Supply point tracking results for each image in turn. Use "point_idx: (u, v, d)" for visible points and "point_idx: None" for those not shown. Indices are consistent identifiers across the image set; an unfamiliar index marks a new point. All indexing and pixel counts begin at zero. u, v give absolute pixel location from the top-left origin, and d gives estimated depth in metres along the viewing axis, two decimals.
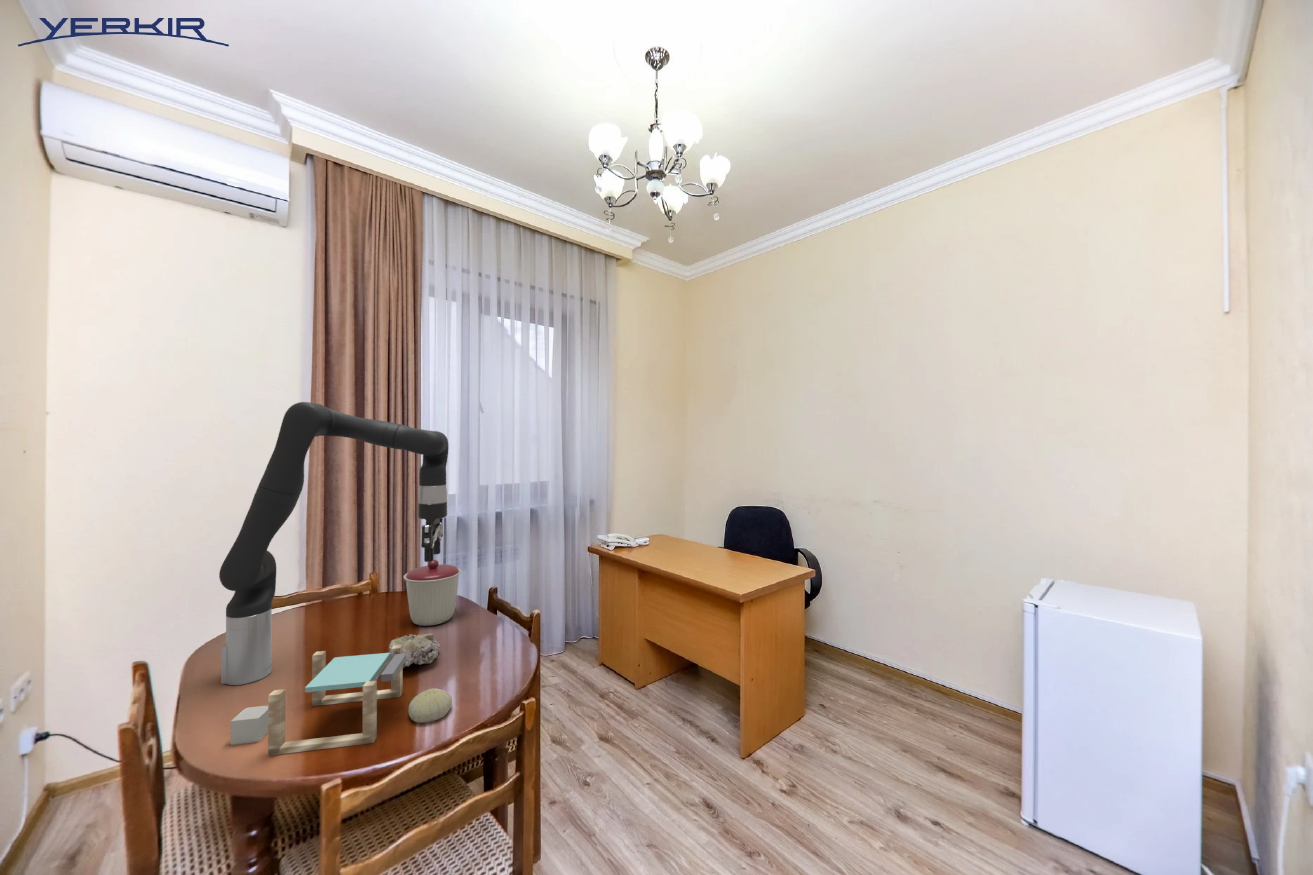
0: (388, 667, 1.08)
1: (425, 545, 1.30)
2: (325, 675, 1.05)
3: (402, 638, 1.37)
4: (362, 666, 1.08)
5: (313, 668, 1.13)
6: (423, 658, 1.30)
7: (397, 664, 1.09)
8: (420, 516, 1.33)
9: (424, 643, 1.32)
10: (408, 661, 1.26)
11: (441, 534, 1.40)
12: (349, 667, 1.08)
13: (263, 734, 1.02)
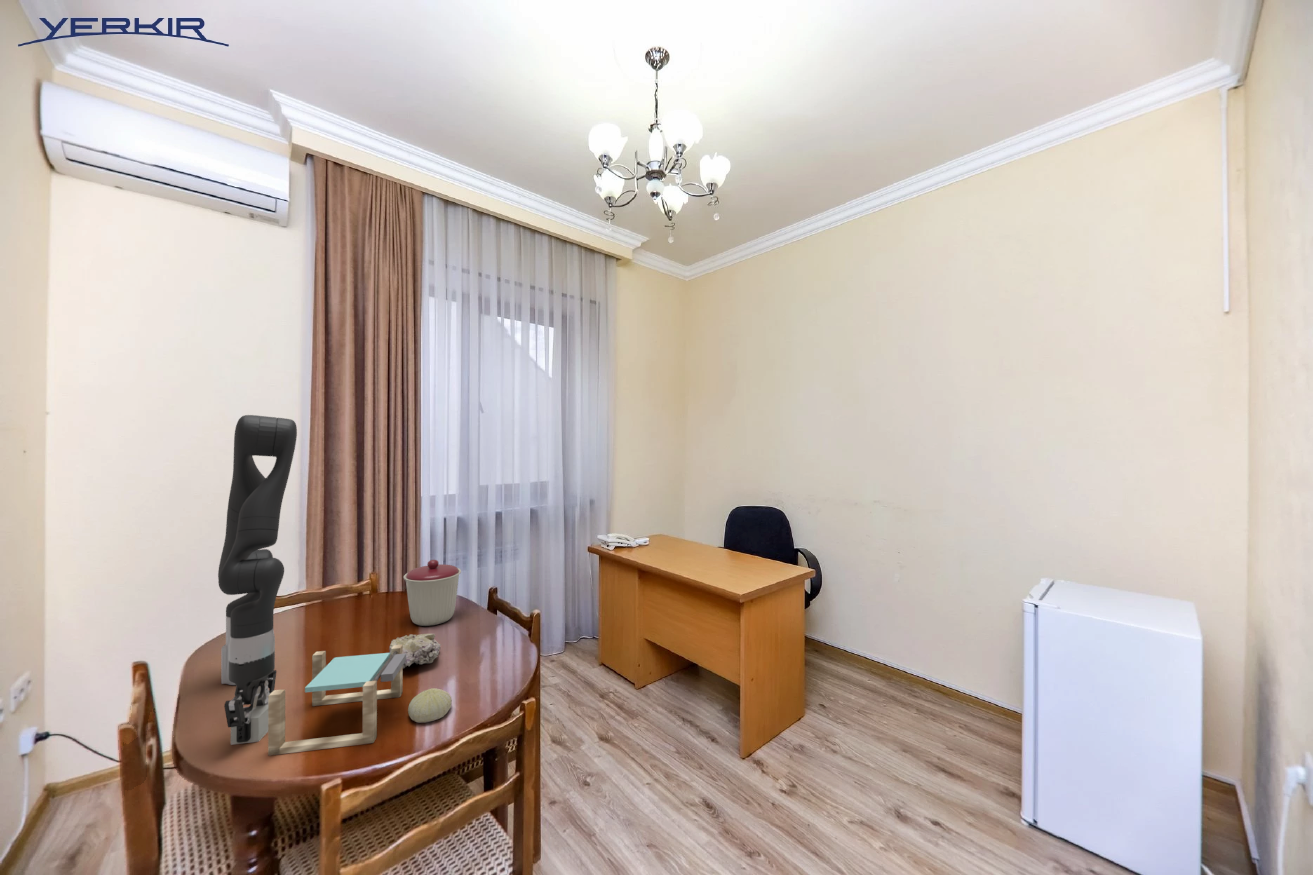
0: (388, 667, 1.08)
1: (233, 724, 0.96)
2: (325, 675, 1.05)
3: (402, 638, 1.37)
4: (362, 666, 1.08)
5: (313, 668, 1.13)
6: (424, 658, 1.30)
7: (397, 664, 1.09)
8: (229, 679, 0.99)
9: (425, 643, 1.32)
10: (409, 661, 1.27)
11: (267, 696, 1.04)
12: (349, 667, 1.08)
13: (263, 733, 1.02)
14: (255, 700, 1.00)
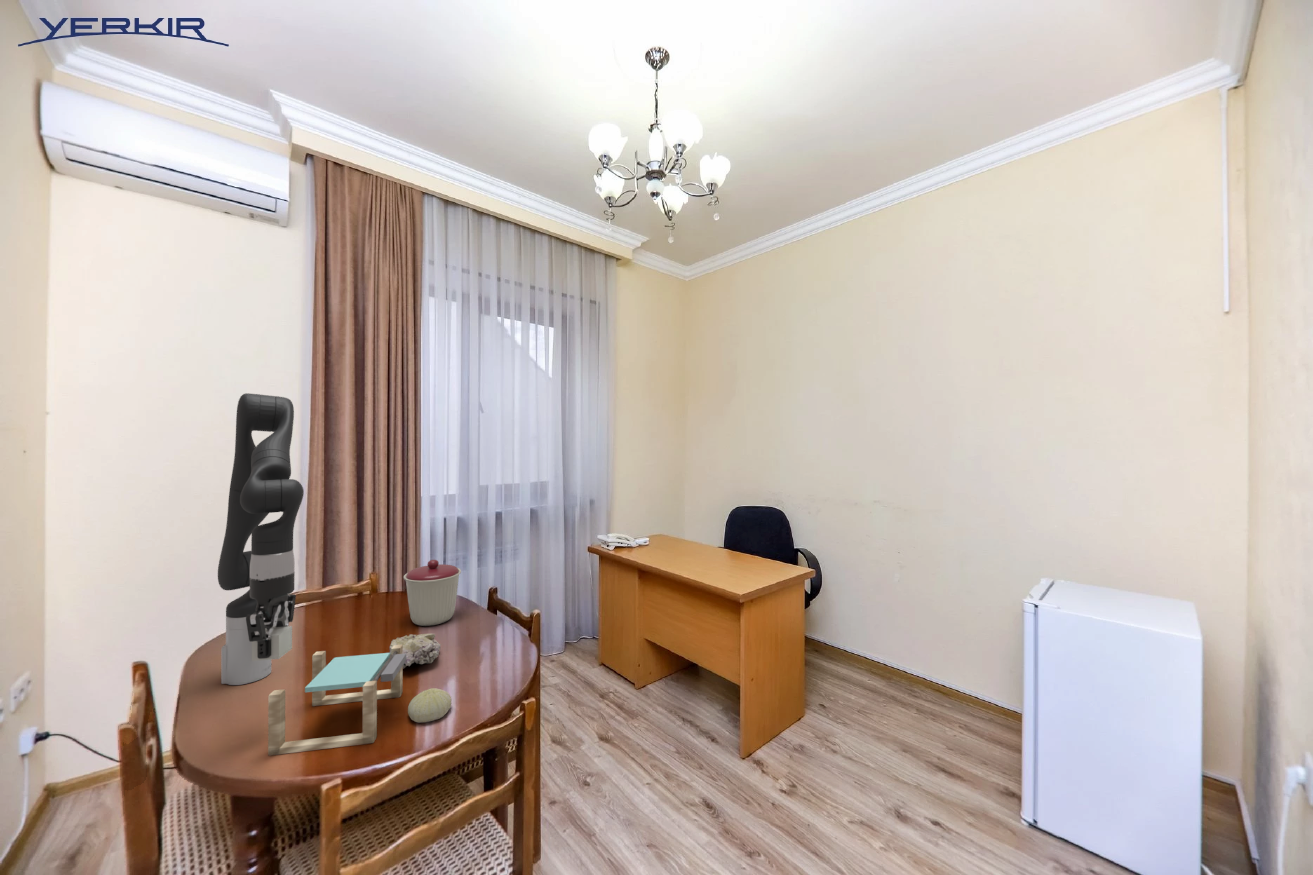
0: (388, 667, 1.08)
1: (254, 639, 0.97)
2: (325, 675, 1.05)
3: (402, 638, 1.37)
4: (362, 666, 1.08)
5: (313, 668, 1.13)
6: (424, 658, 1.30)
7: (397, 664, 1.09)
8: (250, 595, 1.00)
9: (425, 643, 1.32)
10: (409, 661, 1.27)
11: (286, 617, 1.05)
12: (349, 667, 1.08)
13: (283, 652, 1.02)
14: (275, 618, 1.01)
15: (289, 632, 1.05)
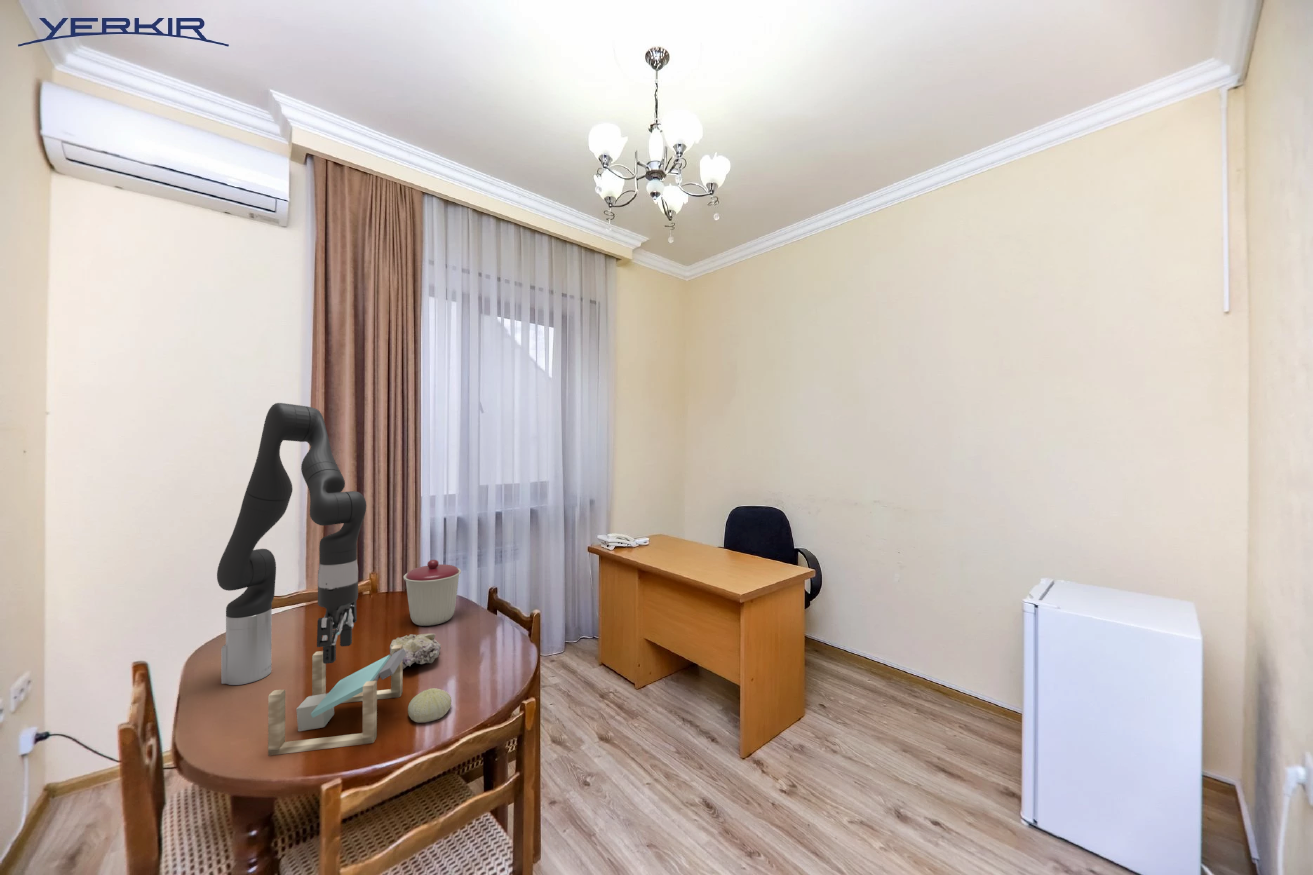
0: (386, 665, 1.08)
1: (322, 644, 1.00)
2: (329, 696, 1.05)
3: (403, 638, 1.37)
4: (364, 675, 1.08)
5: (313, 668, 1.13)
6: (425, 658, 1.30)
7: (394, 659, 1.09)
8: (319, 603, 1.04)
9: (425, 643, 1.32)
10: (410, 661, 1.27)
11: (352, 621, 1.10)
12: (351, 681, 1.08)
13: None
14: (342, 625, 1.05)
15: (311, 697, 1.07)
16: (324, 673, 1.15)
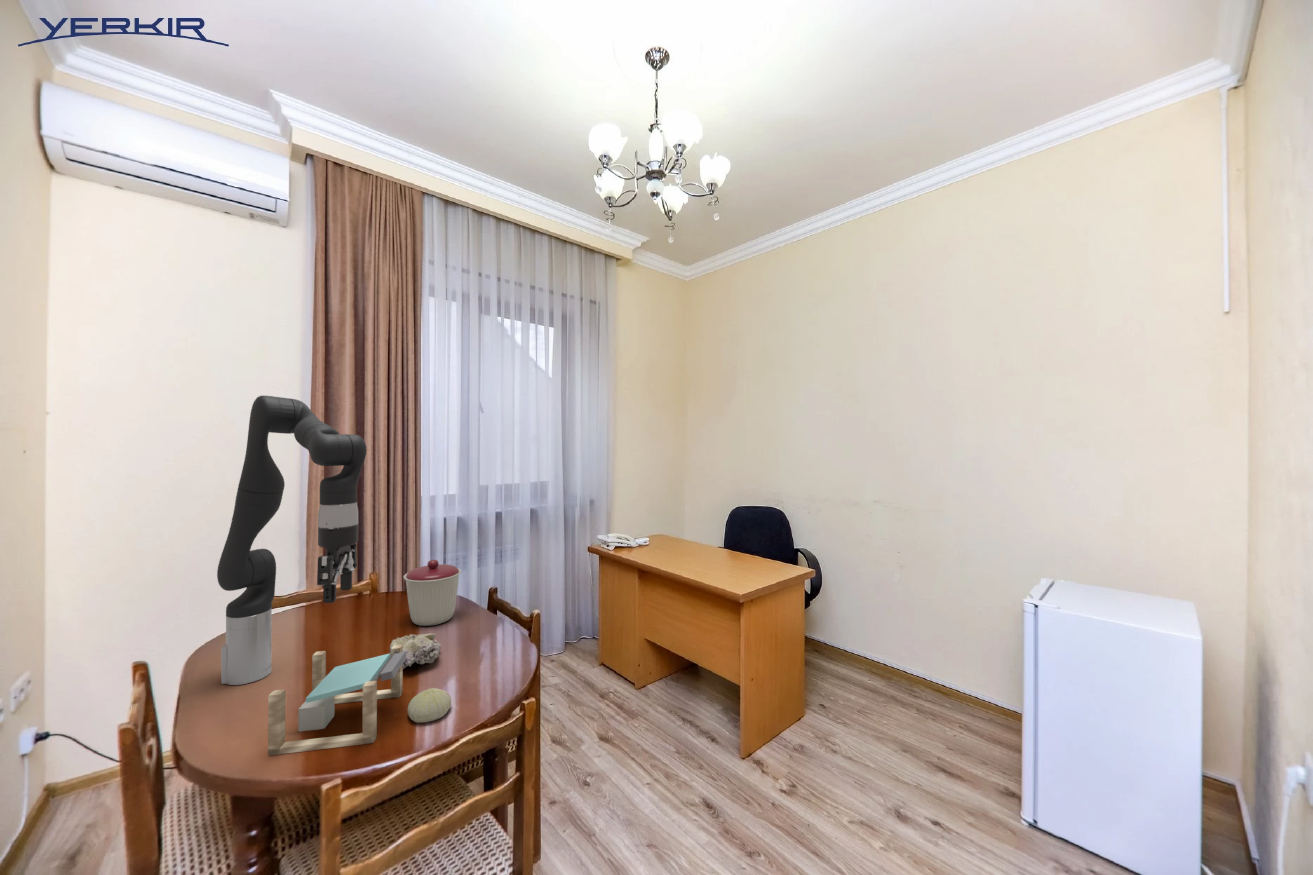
0: (387, 666, 1.08)
1: (322, 582, 1.00)
2: (325, 684, 1.05)
3: (403, 638, 1.37)
4: (362, 670, 1.08)
5: (313, 668, 1.13)
6: (425, 658, 1.30)
7: (396, 662, 1.09)
8: (319, 544, 1.04)
9: (426, 643, 1.32)
10: (410, 661, 1.27)
11: (352, 565, 1.10)
12: (349, 673, 1.08)
13: (325, 702, 1.06)
14: (343, 566, 1.05)
15: None
16: (324, 673, 1.15)
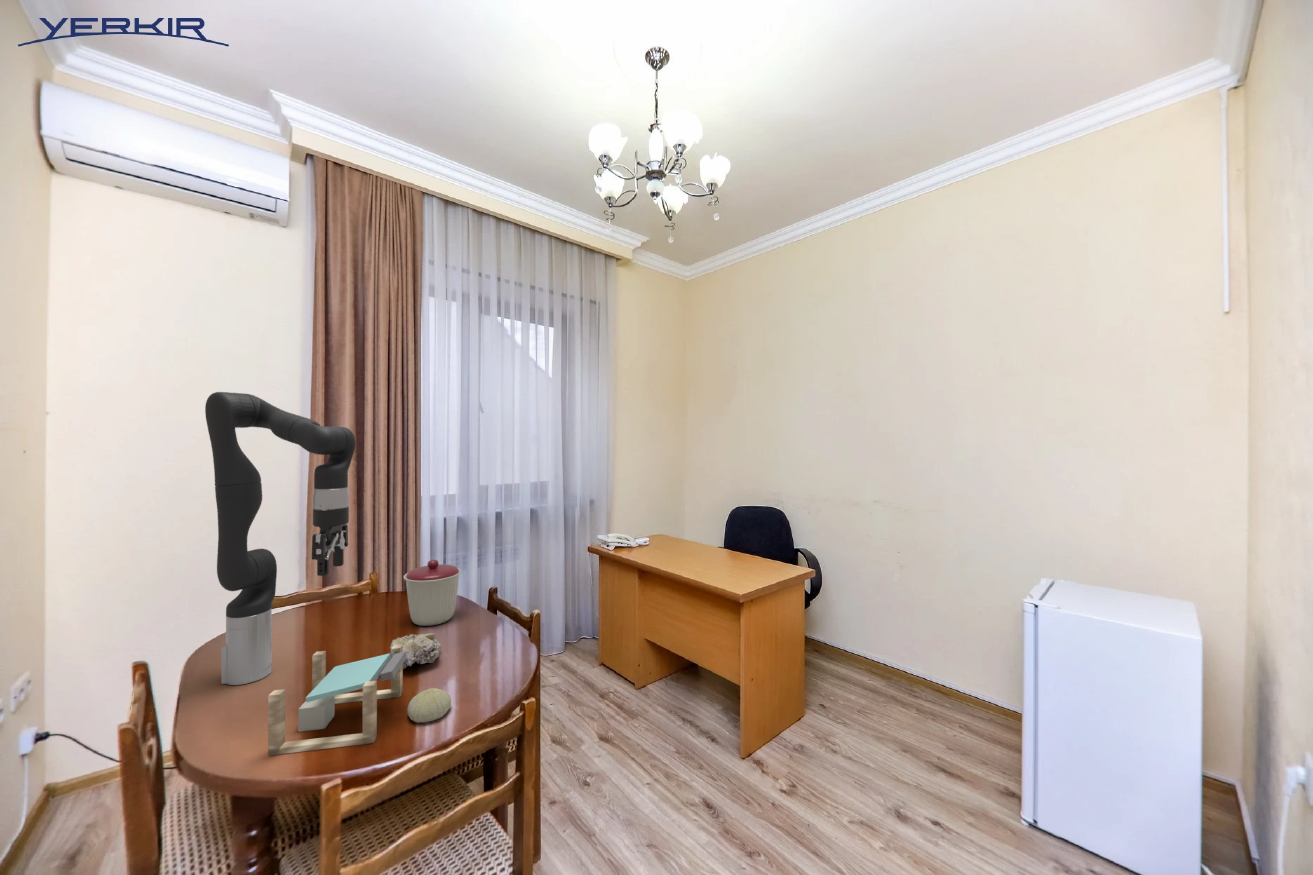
0: (387, 666, 1.08)
1: (316, 557, 1.13)
2: (325, 683, 1.05)
3: (403, 638, 1.37)
4: (362, 670, 1.08)
5: (313, 668, 1.13)
6: (425, 657, 1.30)
7: (396, 662, 1.09)
8: (314, 523, 1.17)
9: (426, 643, 1.32)
10: (411, 661, 1.27)
11: (343, 543, 1.23)
12: (349, 672, 1.08)
13: (325, 702, 1.06)
14: (334, 543, 1.18)
15: None
16: (324, 673, 1.15)
